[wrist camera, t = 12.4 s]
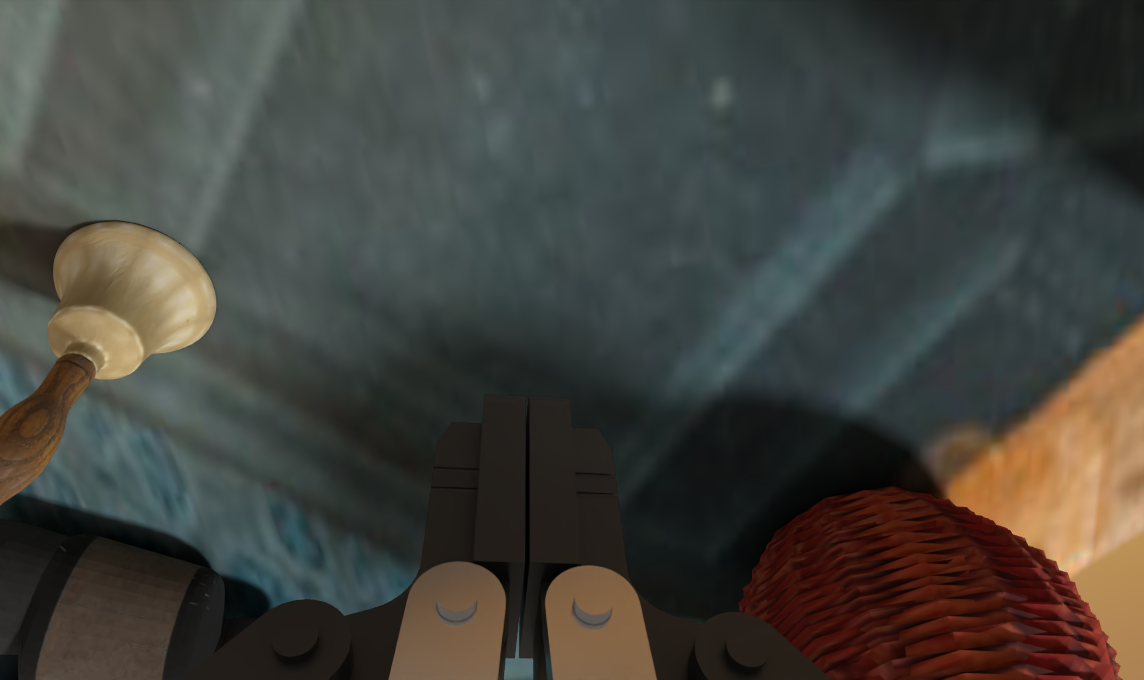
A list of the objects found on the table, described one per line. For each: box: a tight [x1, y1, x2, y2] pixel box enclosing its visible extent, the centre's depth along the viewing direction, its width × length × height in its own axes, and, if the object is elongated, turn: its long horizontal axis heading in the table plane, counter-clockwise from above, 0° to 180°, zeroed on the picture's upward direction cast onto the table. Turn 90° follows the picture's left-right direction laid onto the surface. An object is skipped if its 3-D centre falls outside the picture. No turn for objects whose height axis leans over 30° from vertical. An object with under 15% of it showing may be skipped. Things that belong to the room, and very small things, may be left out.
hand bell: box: [0, 221, 216, 505], centre depth 37 cm, size 8×8×16 cm
